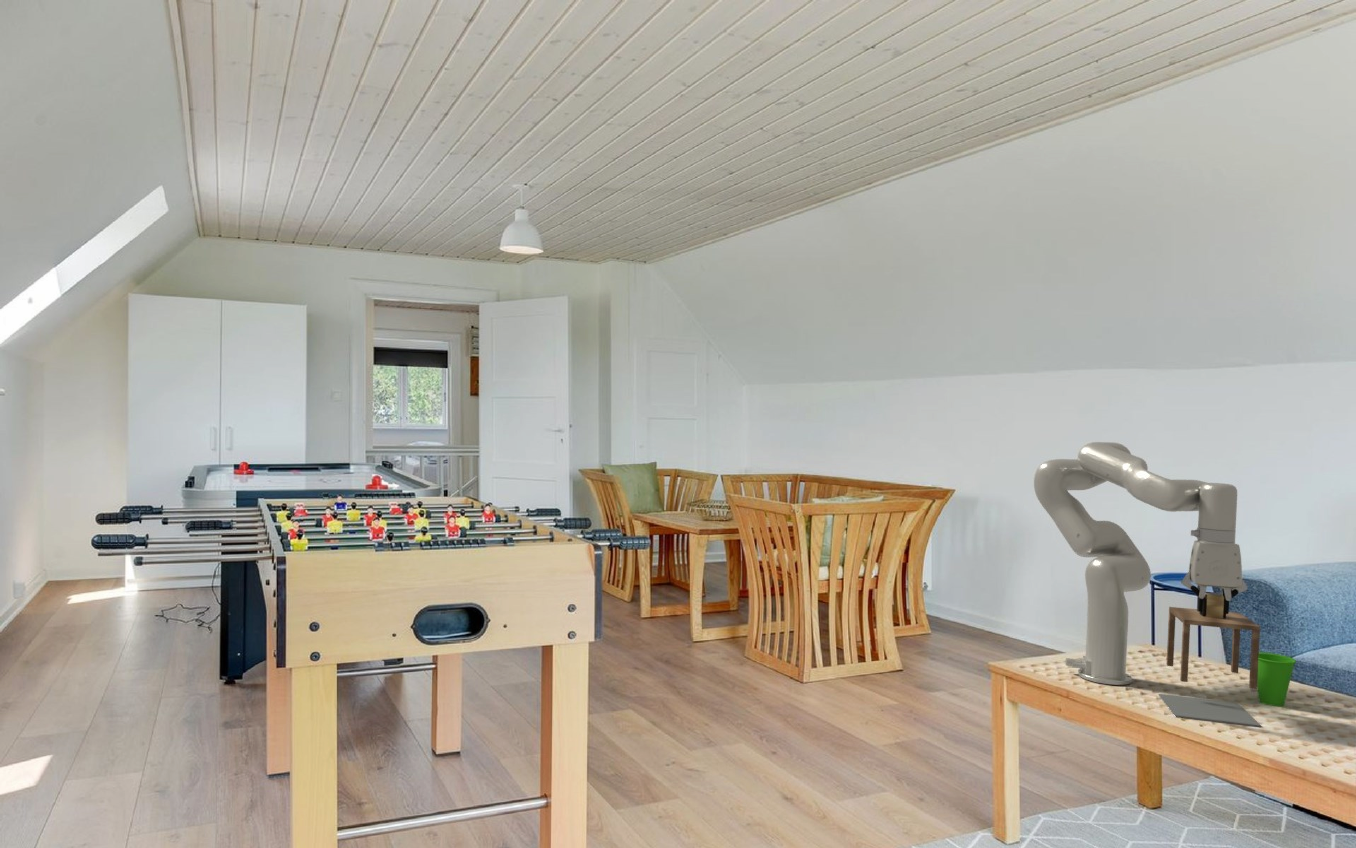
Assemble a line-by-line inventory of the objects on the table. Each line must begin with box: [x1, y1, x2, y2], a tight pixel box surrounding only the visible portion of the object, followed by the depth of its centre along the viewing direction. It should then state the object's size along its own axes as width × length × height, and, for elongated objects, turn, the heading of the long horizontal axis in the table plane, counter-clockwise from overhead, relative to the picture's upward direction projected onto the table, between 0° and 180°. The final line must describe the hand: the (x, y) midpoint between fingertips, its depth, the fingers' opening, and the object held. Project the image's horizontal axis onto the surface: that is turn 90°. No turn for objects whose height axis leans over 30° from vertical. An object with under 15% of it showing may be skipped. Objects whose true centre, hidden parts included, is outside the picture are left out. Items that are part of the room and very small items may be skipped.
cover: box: [1166, 592, 1261, 690], centre depth 213 cm, size 15×15×19 cm
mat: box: [1158, 693, 1262, 728], centre depth 214 cm, size 17×17×1 cm
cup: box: [1256, 651, 1297, 707], centre depth 222 cm, size 9×9×11 cm
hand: (1212, 615), depth 213 cm, fingers closed on cover, 3 cm apart
